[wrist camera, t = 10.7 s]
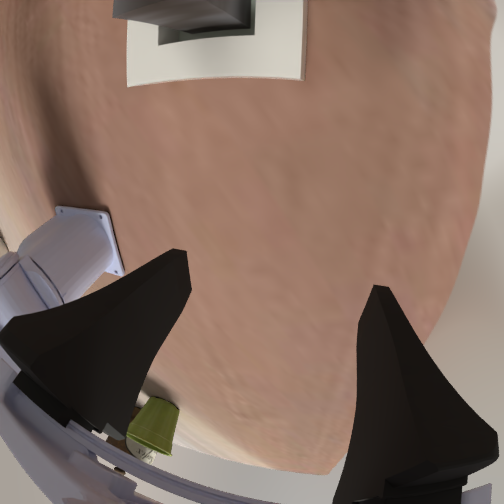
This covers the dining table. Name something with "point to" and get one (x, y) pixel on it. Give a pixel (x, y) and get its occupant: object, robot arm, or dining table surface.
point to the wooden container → (132, 447)
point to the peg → (187, 14)
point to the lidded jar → (3, 248)
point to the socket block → (223, 48)
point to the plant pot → (155, 425)
